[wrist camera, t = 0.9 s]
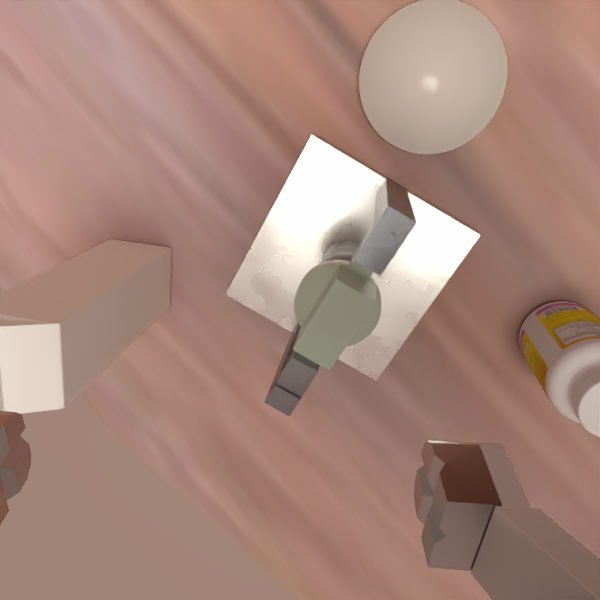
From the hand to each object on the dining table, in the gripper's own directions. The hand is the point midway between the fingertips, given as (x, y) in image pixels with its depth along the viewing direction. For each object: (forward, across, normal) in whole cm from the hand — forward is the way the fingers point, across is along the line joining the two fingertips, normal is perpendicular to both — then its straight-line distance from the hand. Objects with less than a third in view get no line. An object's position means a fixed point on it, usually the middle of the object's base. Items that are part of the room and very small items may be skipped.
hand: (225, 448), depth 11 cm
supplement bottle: (+33, +25, -16) cm, 44 cm away
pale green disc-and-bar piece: (+26, +5, -11) cm, 28 cm away
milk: (+38, -13, -16) cm, 43 cm away
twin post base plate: (+36, +6, -12) cm, 38 cm away
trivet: (+37, +11, +3) cm, 39 cm away
